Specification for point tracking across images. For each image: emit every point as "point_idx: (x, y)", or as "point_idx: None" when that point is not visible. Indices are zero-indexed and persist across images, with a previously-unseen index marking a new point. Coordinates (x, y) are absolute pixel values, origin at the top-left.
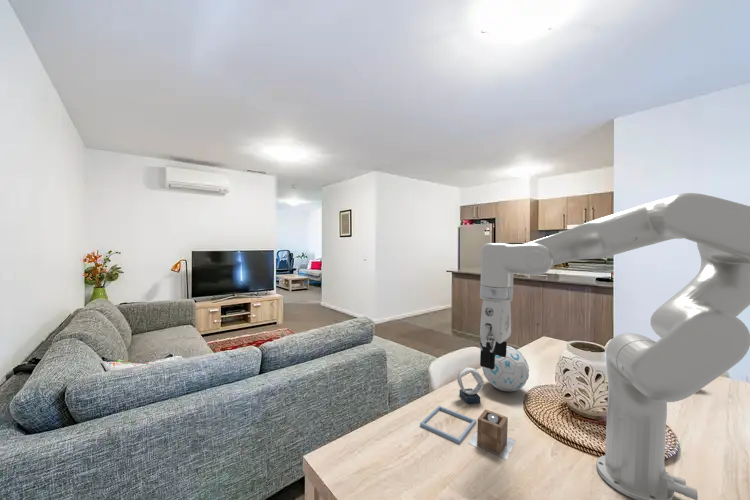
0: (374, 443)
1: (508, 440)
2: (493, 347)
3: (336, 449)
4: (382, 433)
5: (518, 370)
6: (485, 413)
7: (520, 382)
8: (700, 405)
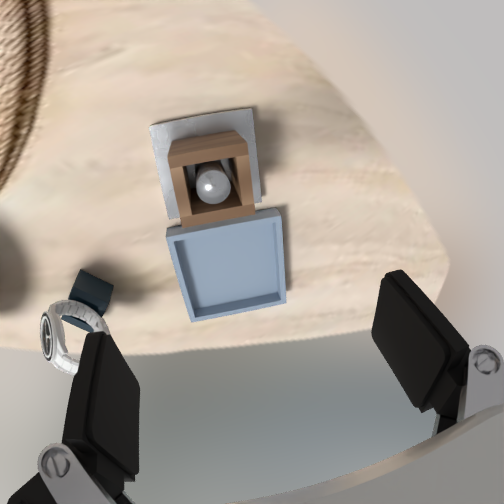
0: (363, 306)
1: (166, 139)
2: (491, 381)
3: None
4: (335, 318)
5: None
6: (206, 214)
7: None
8: None
